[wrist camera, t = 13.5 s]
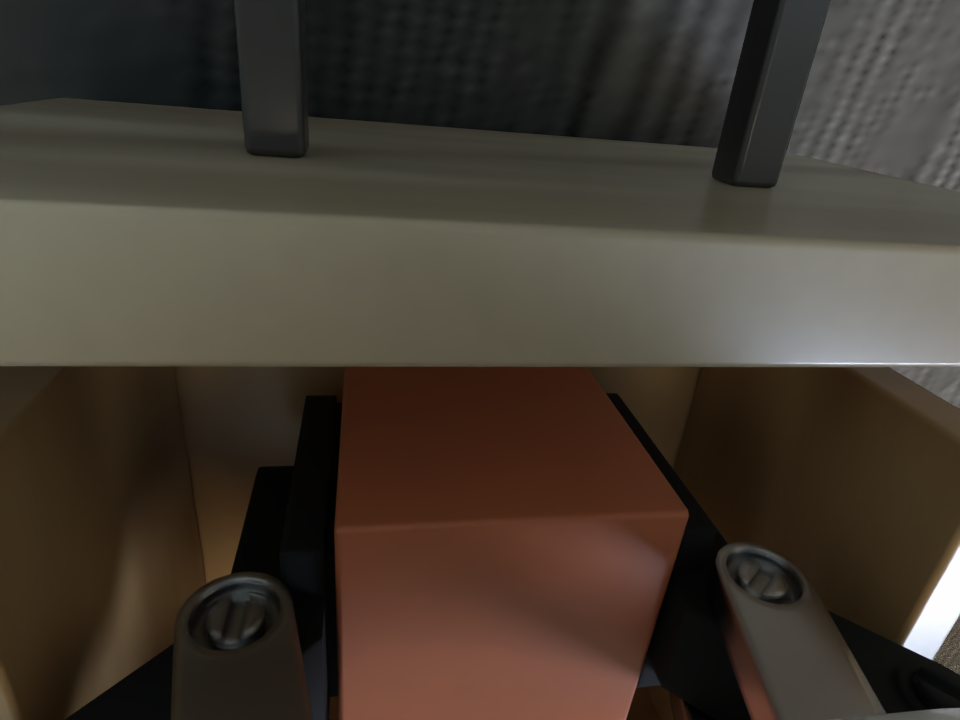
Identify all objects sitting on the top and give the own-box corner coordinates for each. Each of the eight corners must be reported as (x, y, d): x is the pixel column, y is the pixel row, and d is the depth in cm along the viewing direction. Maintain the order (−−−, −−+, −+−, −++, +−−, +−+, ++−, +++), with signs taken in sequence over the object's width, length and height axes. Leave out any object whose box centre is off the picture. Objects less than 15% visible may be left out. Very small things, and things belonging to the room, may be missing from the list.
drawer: (-12, -252, 8) (-1682, -1623, 1) (868, -101, 10) (1680, -355, 4) (171, 664, 16) (35, 1091, 9) (652, 623, 18) (811, 934, 12)
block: (347, 545, 13) (339, 765, 9) (344, 356, 11) (333, 529, 7) (550, 534, 13) (625, 730, 10) (582, 356, 11) (693, 512, 8)
